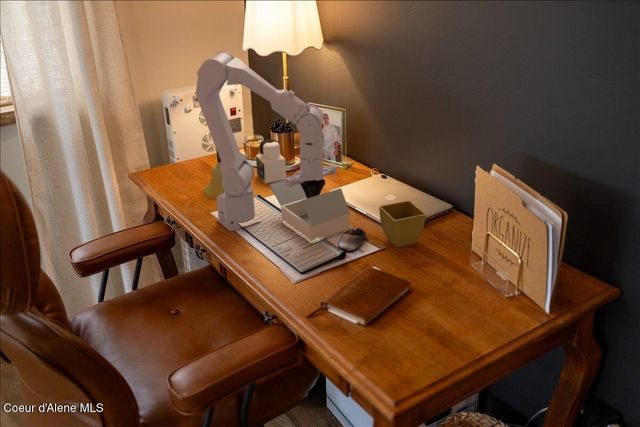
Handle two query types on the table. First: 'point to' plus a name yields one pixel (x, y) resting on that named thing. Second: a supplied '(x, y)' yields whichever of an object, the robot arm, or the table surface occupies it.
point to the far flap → (287, 192)
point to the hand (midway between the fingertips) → (312, 205)
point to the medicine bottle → (270, 162)
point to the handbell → (215, 181)
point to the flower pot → (402, 222)
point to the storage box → (300, 221)
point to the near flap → (326, 206)
